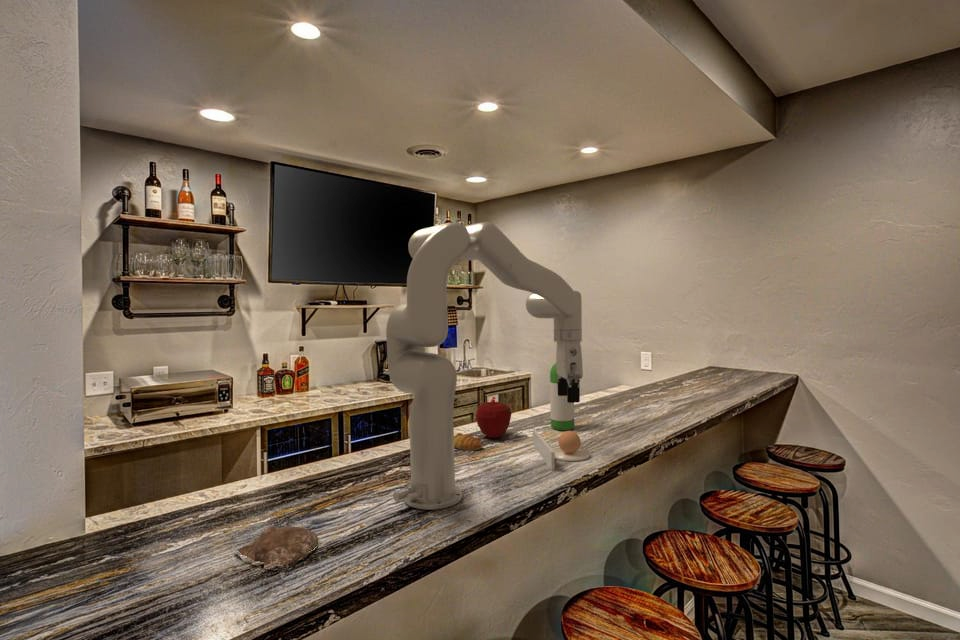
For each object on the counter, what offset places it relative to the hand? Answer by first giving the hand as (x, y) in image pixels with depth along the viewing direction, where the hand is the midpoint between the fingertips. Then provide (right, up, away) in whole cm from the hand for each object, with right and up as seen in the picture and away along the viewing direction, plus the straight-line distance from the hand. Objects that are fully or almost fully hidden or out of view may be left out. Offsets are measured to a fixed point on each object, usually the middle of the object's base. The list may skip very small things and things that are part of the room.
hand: (568, 398), depth 135 cm
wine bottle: (+3, -15, +29) cm, 33 cm away
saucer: (0, -16, +1) cm, 16 cm away
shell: (-59, -19, -48) cm, 79 cm away
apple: (-20, -15, +20) cm, 32 cm away
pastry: (-28, -16, +11) cm, 34 cm away
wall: (-7, -16, 0) cm, 17 cm away
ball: (0, -12, +1) cm, 12 cm away
